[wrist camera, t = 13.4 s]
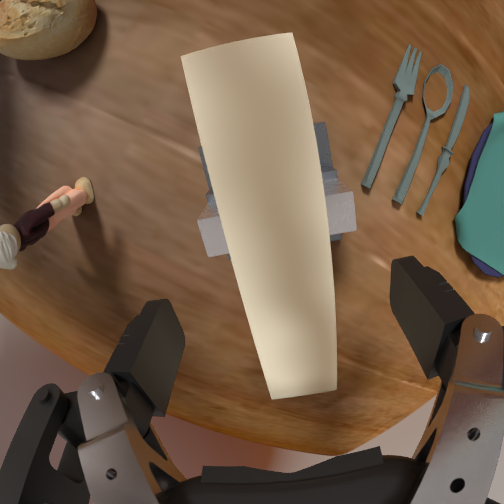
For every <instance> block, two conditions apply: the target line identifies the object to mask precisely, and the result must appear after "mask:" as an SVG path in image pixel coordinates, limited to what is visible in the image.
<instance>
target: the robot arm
mask: <svg viewBox="0 0 504 504" xmlns="http://www.w3.org/2000/svg"><path fill="white" fill-rule="evenodd" d="M1 1H2V0H0V2H1ZM390 305H391V309H392V312H393V314H394V316H395V317H396V319H397V321H398V323H399V325H400V326H401V328H402V330H403V332H404V334H405V336H406V338H407V339H408V341H409V343H410V345H411V347H412V349H413V351H414V353H415V355H416V357H417V359H418V361H419V363H420V365H421V367H422V369H423V371H424V373H425V375H426V377H427V379H431V378H433V377H436V376H439V377H440V378H441V380H442V381H441V384H440V386H439V390H438V393H437V396H436V400H435V403H434V406H433V409H432V412H431V415H430V418H429V421H428V423H427V426H426V429H425V431H424V434H423V436H422V438H421V440H420V442H419V444H418V446H417V448H416V450H415V452H414V454H413V457H412V458H408V457H403V456H394V455H382V454H381V449H380V446H378V447H375V448H371V449H367V450H363V451H359V452H355V453H350V454H346V455H341V456H336V457H334V458H331V459H329V460H326V461H324V462H321V463H319V464H316V465H314V466H311V467H308V468H306V469H303V470H300V471H297V472H294V473H282V472H274V471H267V470H261V469H256V468H250V467H245V466H242V467H241V466H238V467H223V466H220V467H219V466H203V470H202V476H197V477H194V478H191V479H186V478H185V477H184V475H183V474H182V473H181V472H180V471H179V470H178V469H177V467H176V466H175V465H174V463H173V461H172V460H171V458H170V456H169V455H168V453H167V451H166V449H165V447H164V446H163V444H162V442H161V440H160V438H159V436H158V435H157V432H156V431H155V429H154V427H153V425H152V424H151V423H150V422H151V418H152V416H161V417H165V414H166V410H167V406H168V403H169V399H170V395H171V392H172V388H173V385H174V381H175V378H176V374H177V371H178V367H179V364H180V360H181V357H182V353H183V350H184V346H185V336H184V332H183V329H182V327H181V325H180V323H179V321H178V318H177V316H176V314H175V312H174V310H173V307H172V305H171V303H170V301H169V300H168V299H160V300H152V301H147V302H146V304H145V306H144V307H143V309H142V311H141V313H140V315H138V316H137V317H135V318H134V319H133V320H132V321H131V322H130V323H129V324H128V326H127V328H126V330H125V331H124V333H123V337H121V339H120V341H119V345H117V346H116V348H115V350H114V352H113V354H112V356H111V358H110V360H109V362H108V364H107V366H106V368H105V370H104V372H101V373H96V374H93V375H91V376H89V377H88V378H87V379H86V380H84V382H83V383H82V384H81V385H80V388H79V390H78V391H75V392H70V393H65V394H64V393H63V392H62V391H61V389H60V388H59V387H58V386H57V385H56V384H46V385H44V386H42V387H41V388H40V389H39V390H38V391H37V392H36V393H35V394H34V396H33V398H32V400H31V402H30V404H29V406H28V408H27V410H26V412H25V414H24V416H23V418H22V420H21V422H20V424H19V426H18V428H17V431H16V433H15V435H14V437H13V440H12V442H11V444H10V447H9V449H8V452H7V454H6V456H5V459H4V462H3V464H2V467H1V470H0V504H89V499H90V496H91V498H92V501H93V504H500V503H498V502H496V501H494V500H491V499H489V498H487V495H488V493H489V490H490V487H491V483H492V480H493V477H494V474H495V470H496V466H497V463H498V459H499V455H500V451H501V446H502V441H503V436H504V326H501V325H500V323H499V322H498V321H497V320H496V319H494V318H493V317H491V316H488V315H485V314H475V313H474V312H473V311H472V310H471V309H470V307H469V306H468V305H467V304H466V303H465V301H464V300H463V299H462V298H461V297H460V295H459V294H458V293H457V292H456V291H455V290H453V287H452V286H451V285H450V284H449V283H447V281H446V280H445V279H444V277H443V276H442V275H441V274H440V273H439V272H437V271H435V270H433V269H431V268H430V267H428V266H427V267H423V266H422V264H421V263H420V262H419V261H418V260H417V259H416V258H415V257H414V256H408V257H403V258H399V259H394V260H393V261H392V264H391V284H390ZM57 433H58V434H59V435H60V436H61V437H62V438H63V439H65V440H66V441H67V444H66V446H65V449H64V452H63V455H62V458H61V461H60V464H59V467H58V470H55V469H54V468H53V467H52V466H51V464H50V462H49V455H50V452H51V449H52V446H53V444H54V441H55V438H56V436H57Z"/></svg>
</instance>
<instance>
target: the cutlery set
mask: <svg viewBox="0 0 504 504" xmlns="http://www.w3.org/2000/svg"><path fill="white" fill-rule="evenodd" d="M410 49H411V45H410V44H409V45H408V48H407V50H406V53H405V55H404V58H403V60H402V63H401V65H400V67H399V70H398V72H397V74H396V76H395V79H394V81H393V85H394V87H395V88H396V90H397V93H396V94H395V96H394V97H395V98H396V99H395V101H394V104H393V107H392V109H391V112H390V114H389V116H388V119H387V121H386V124H385V126H384V129H383V132H382V134H381V137H380V139H379V142H378V144H377V147H376V149H375V152H374V155H373V157H372V160H371V163H370V165H369V167H368V170H367V172H366V174H365V177H364V179H363V181H362V183H361V184H362V185H364V186H366V187H368V188H370V187H371V184H372V182H373V180H374V178H375V175H376V173H377V170H378V168H379V166H380V163H381V160H382V157H383V154H384V152H385V149H386V146H387V144H388V141H389V138H390V135H391V133H392V130H393V127H394V125H395V123H396V120H397V118H398V115H399V113H400V110H401V108H402V105H403V102H404V101H407V95H414V89H415V84H416V79H417V74H418V68H419V63H420V59H421V55H422V52H421V51H420V52H419V54H418V57H417V59H416V62H415V65H414V67H413V63H414V58H415V54H416V51H417V49H416V48H414V50H413V53H412V55H411V58H410V60H409V63H408V65H407V62H408V57H409V53H410ZM406 67H407V68H406ZM412 68H413V70H412ZM436 72H439V73H440V74H441V75H443V76H444V77H445V80H446V84H447V88H448V90H447V98H446V102H445V103H444V105H443V106H442V108H441V109H439V110H437V111H435V112H433V111H431V110H430V109H428V108H427V106H426V103H425V100H424V90H425V83H426V81H427V79H428V78H429V76H430V75H431V74H434V73H436ZM452 93H453V82H452V78H451V74H450V70H449V69H447V68H446V67H445V66H443V65H442V64H441V65H439V66H436V67H434V68H432V69H431V71H430V73H429V75H428V77H427V78H426V80H425V82H424V87H423V101H424V104H425V108H426V119H425V122H424V126H423V129H422V131H421V134H420V137H419V139H418V142H417V145H416V148H415V150H414V153H413V156H412V158H411V160H410V162H409V165H408V167H407V169H406V172H405V174H404V176H403V178H402V180H401V182H400V184H399V187H398V189H397V191H396V193H395V195H394V197H393V198H392V199H393V200H395V201H397V202H399V203H401V204H402V203H403V200H404V198H405V195H406V193H407V190H408V188H409V185H410V183H411V180H412V178H413V175H414V172H415V170H416V167H417V164H418V161H419V159H420V155H421V152H422V149H423V145H424V142H425V139H426V135H427V132H428V128H429V124H430V120H431V119H434V118H436V117H438V116H440V115H442V114H444V113H445V112H446V110H447V108H448V106H449V105H450V103H451V101H452ZM468 103H469V88H468V86H467V85H465V86H464V89H463V93H462V97H461V100H460V104H459V107H458V110H457V114H456V117H455V120H454V123H453V126H452V129H451V132H450V135H449V138H448V141H447V143H446V146H445V147H442V155H441V156H440V157H439V158H438V167H437V172H436V174H435V177H434V179H433V182H432V184H431V187H430V190H429V192H428V194H427V196H426V198H425V200H424V202H423V204H422V206H421V208H420V209H419V211H416V212H417V213H419V214H420V215H422V216H424V211H425V209H426V207H427V204H428V202H429V200H430V197H431V195H432V193H433V191H434V189H435V187H436V185H437V184H438V181H439V179H440V177H441V174H442V172H443V171H444V170H445V169H446V168H447V166H448V165H449V157H450V155H451V154H454V153H453V152H452V151H451V148H452V147H453V145H454V143H455V141H456V139H457V137H458V135H459V132H460V129H461V127H462V124H463V121H464V117H465V114H466V110H467V107H468ZM455 224H456V233H457V238H458V242H459V243H460V245H461V246H462V247H463V248H464V249H465V250H466V251H467V252H469V253H470V256H471V259H472V261H473V263H474V264H475V265H476V266H477V267H478V268H479V269H480V270H481V271H482V272H483V273H484V274H486V275H490V276H493V277H497V278H498V277H502V276H504V111H503V112H501V113H497V114H494V121H493V122H492V123H491V124H490V125H489V126H488V127H487V128H486V129H485V130H484V131H483V133H482V135H481V137H480V140H479V142H478V144H477V146H476V148H475V150H474V152H473V154H472V157H471V161H470V165H469V169H468V173H467V177H466V181H465V184H464V199H463V207H462V209H461V210H460V211H459V213H458V214H457V215H456V216H455Z"/></svg>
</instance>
